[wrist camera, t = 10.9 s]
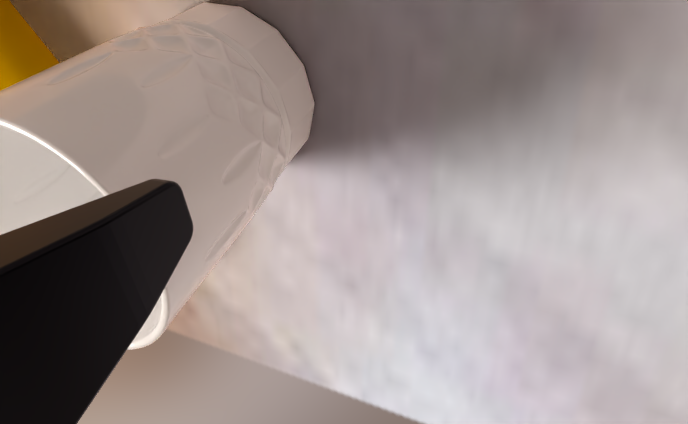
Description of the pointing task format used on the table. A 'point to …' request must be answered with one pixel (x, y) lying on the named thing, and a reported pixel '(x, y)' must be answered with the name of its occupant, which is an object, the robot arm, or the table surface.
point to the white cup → (160, 131)
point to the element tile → (20, 48)
